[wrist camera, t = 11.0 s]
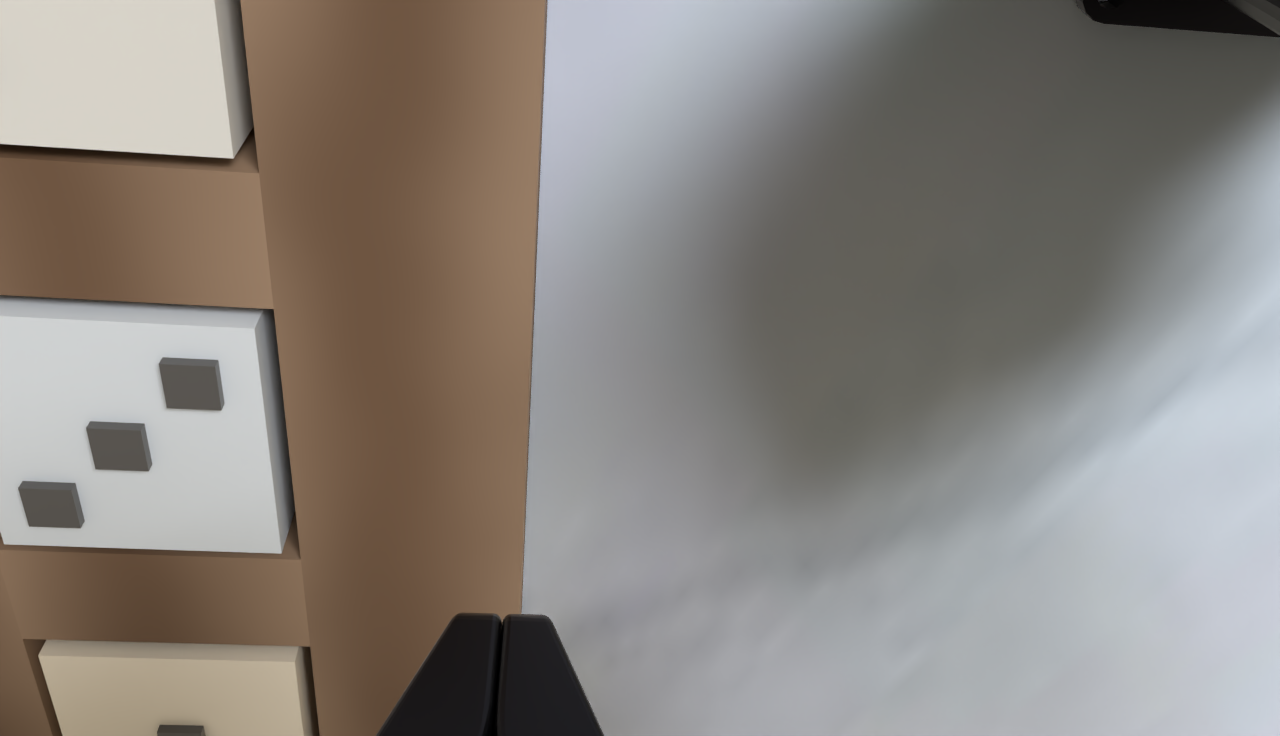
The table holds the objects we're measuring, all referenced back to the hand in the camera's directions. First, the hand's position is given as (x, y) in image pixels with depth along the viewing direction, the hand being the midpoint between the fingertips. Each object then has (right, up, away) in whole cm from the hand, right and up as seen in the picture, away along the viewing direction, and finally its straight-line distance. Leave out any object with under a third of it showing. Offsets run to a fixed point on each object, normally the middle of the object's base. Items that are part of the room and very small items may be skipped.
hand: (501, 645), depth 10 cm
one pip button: (-9, -4, +16) cm, 19 cm away
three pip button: (-8, +3, +12) cm, 15 cm away
